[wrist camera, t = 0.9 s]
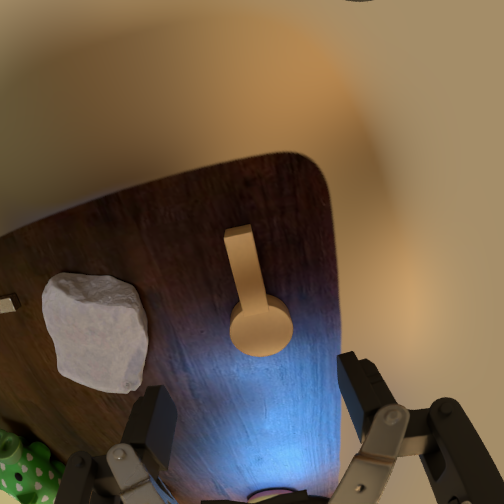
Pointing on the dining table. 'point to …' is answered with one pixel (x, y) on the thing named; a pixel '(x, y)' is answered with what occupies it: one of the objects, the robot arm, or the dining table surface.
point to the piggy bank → (28, 470)
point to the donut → (266, 495)
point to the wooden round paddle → (254, 300)
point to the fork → (9, 303)
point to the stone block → (97, 330)
